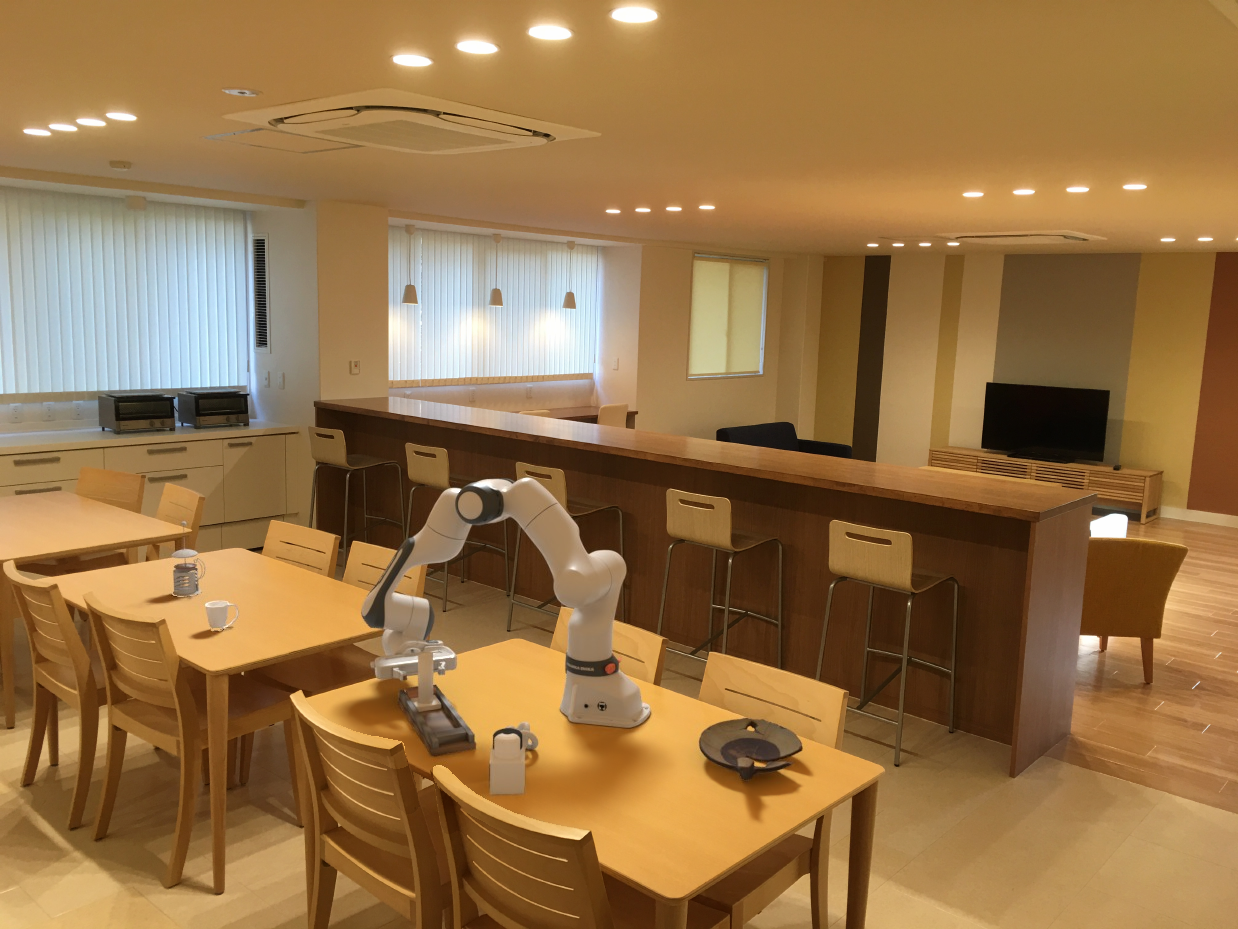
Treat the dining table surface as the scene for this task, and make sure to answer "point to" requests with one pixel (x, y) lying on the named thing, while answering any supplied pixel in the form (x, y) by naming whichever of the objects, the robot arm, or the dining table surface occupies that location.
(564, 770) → the dining table surface
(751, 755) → the dark grey shallow dish
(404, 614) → the robot arm
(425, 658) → the post
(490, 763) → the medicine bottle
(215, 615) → the cup
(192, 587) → the french press
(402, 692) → the slot track
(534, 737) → the knot
